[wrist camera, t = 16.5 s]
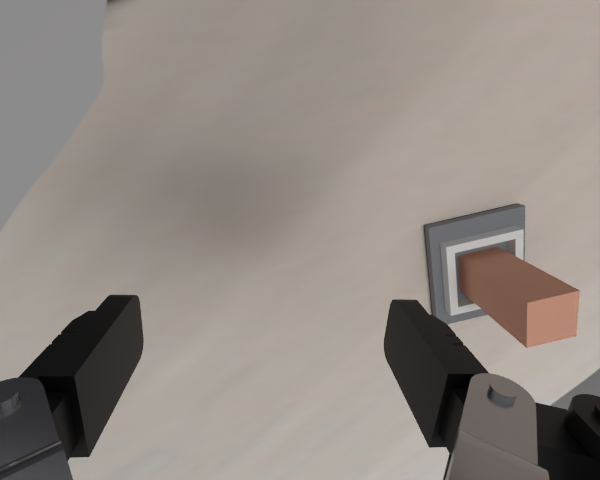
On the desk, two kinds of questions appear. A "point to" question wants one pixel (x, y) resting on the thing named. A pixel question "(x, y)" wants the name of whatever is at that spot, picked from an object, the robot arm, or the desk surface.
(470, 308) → the baseplate
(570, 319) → the column
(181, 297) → the desk surface
